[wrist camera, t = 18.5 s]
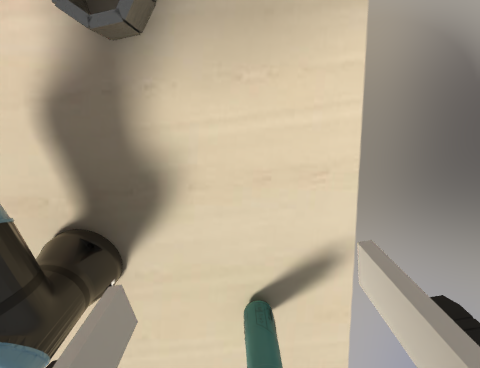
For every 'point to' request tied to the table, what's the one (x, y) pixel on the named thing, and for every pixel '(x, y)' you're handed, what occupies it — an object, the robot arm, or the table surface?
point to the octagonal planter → (111, 17)
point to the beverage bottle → (261, 336)
